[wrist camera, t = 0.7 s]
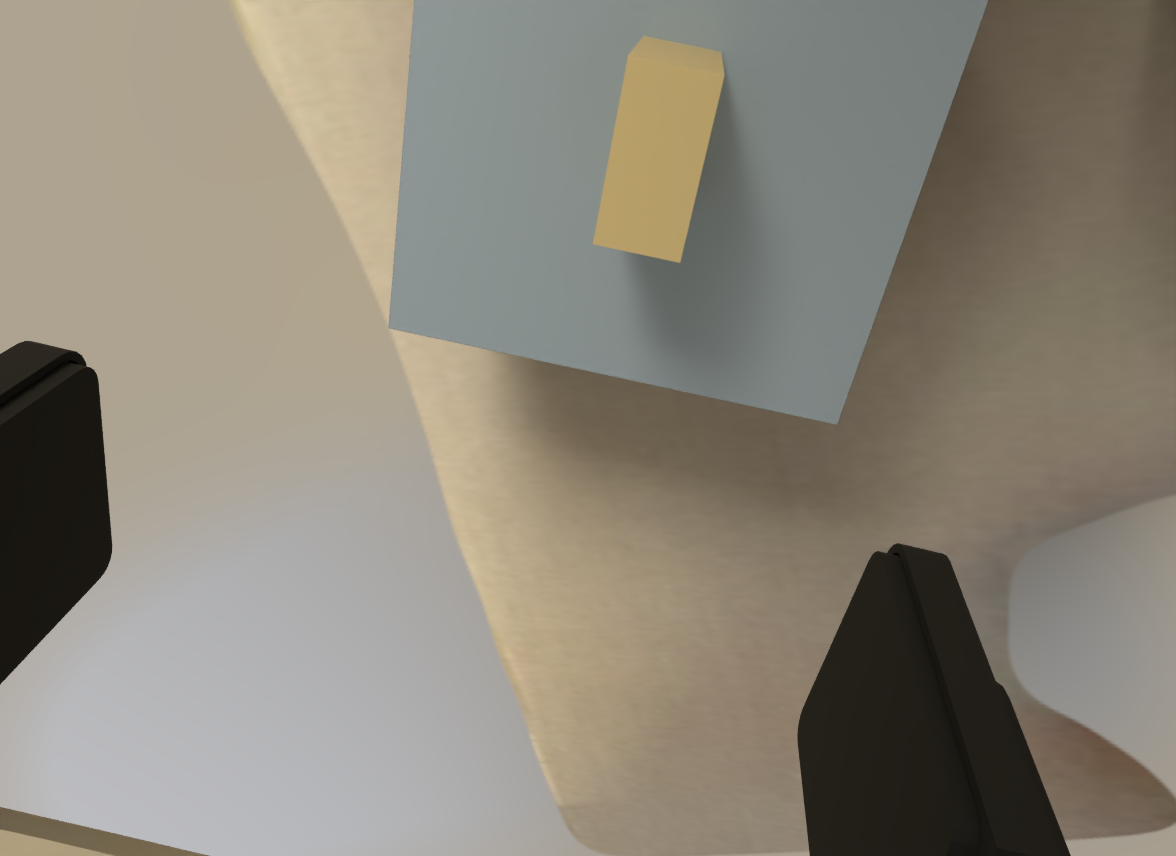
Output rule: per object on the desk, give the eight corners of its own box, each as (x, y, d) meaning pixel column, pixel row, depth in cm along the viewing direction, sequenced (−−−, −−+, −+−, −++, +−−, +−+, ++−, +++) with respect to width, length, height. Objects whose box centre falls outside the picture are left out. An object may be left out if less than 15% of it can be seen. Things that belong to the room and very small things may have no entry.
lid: (447, -266, 21) (360, -338, 16) (1028, -148, 21) (1137, -182, 16) (398, 316, 28) (326, 400, 23) (832, 410, 28) (862, 516, 23)
